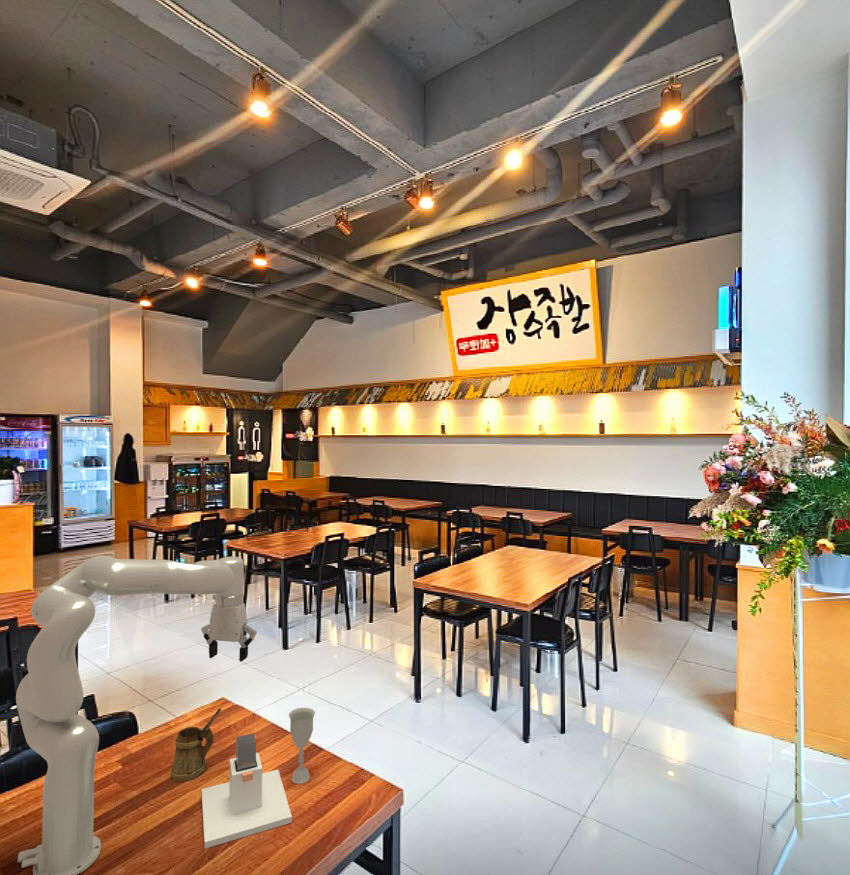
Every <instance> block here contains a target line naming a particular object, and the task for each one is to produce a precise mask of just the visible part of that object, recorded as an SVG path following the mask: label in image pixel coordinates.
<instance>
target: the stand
mask: <svg viewBox="0 0 850 875" xmlns="http://www.w3.org/2000/svg"><path fill="white" fill-rule="evenodd" d="M228 778H229V779H228V780H229V781H227V782H224V783H221V784H219V783H218V784H216V785H212V786H208V787H205V788H202V789H201V806H202V808H201V809H202V810H201V811H202V824H203V825H202V826H203V842H204V849H209V848H212V847H216V846H218V845H222V844H226V843H229V842H233V841H235V840H239V839H242V838H245V837H248V836H253V835H256V834H258V833H262V832H265V831H269V830H272V829H275V828H278V827H282V826H285V825H288V824H289V825H290V824H291V823H293V815H292V812H291V809H290V806H289V802H288V799H287V796H286V792H285V788H284V784H283V782H282V777H281V774H280V770H279V769H275V770H271V771H268V772H263V766H262V762H261V758H260V754H259V752H256V767H255V768H251V769H247V770H243V771H239V772H236V757H233V758H229V777H228Z"/></svg>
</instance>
